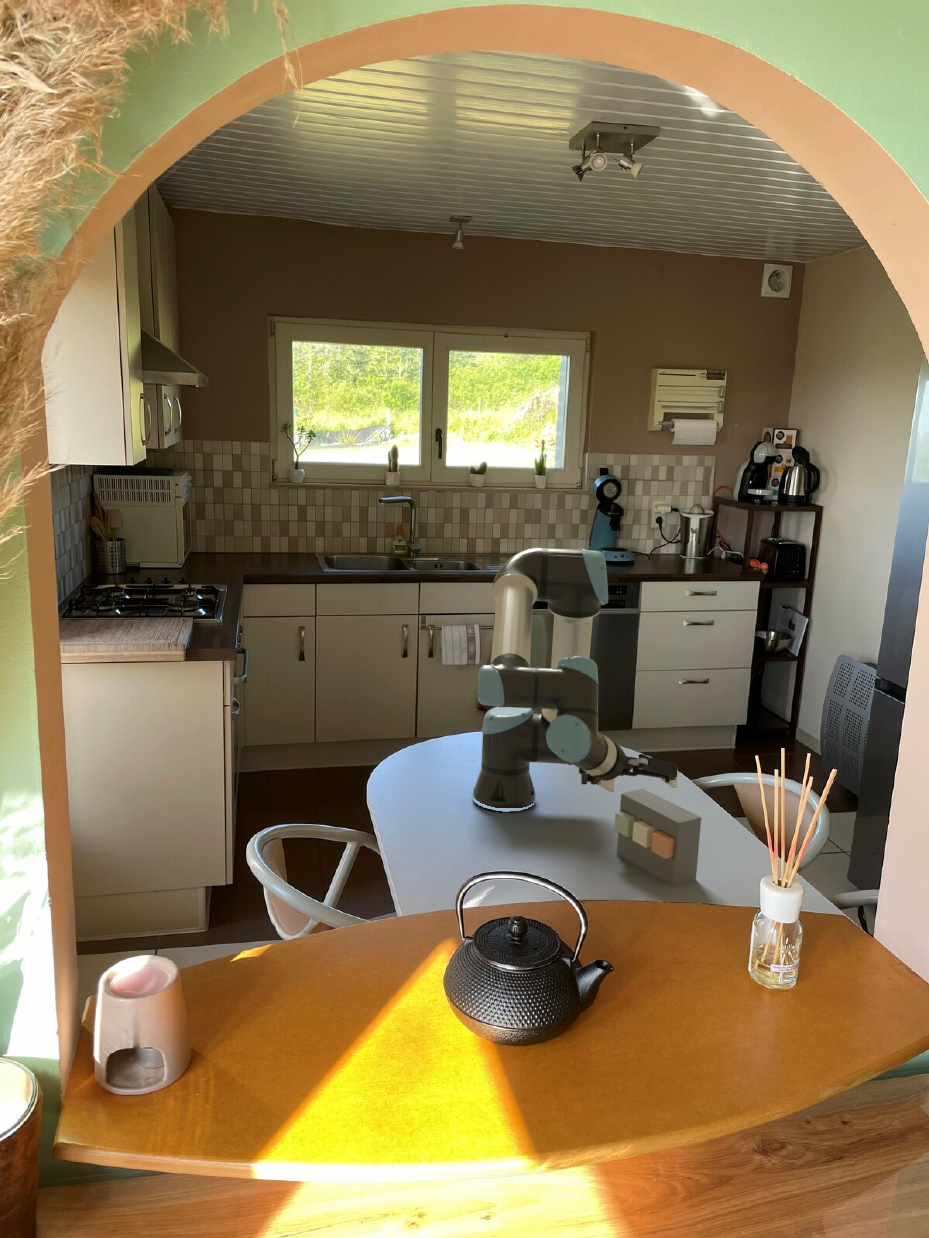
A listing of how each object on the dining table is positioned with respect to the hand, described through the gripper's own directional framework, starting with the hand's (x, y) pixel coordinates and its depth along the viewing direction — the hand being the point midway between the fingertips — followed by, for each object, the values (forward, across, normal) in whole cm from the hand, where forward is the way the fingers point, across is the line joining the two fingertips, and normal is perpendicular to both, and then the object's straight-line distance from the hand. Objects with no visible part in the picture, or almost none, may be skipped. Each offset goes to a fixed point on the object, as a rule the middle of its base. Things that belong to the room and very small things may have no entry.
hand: (643, 783), depth 190 cm
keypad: (+9, -1, -16) cm, 18 cm away
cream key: (+4, -1, -11) cm, 12 cm away
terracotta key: (+2, +4, -14) cm, 14 cm away
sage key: (+5, -6, -9) cm, 12 cm away
